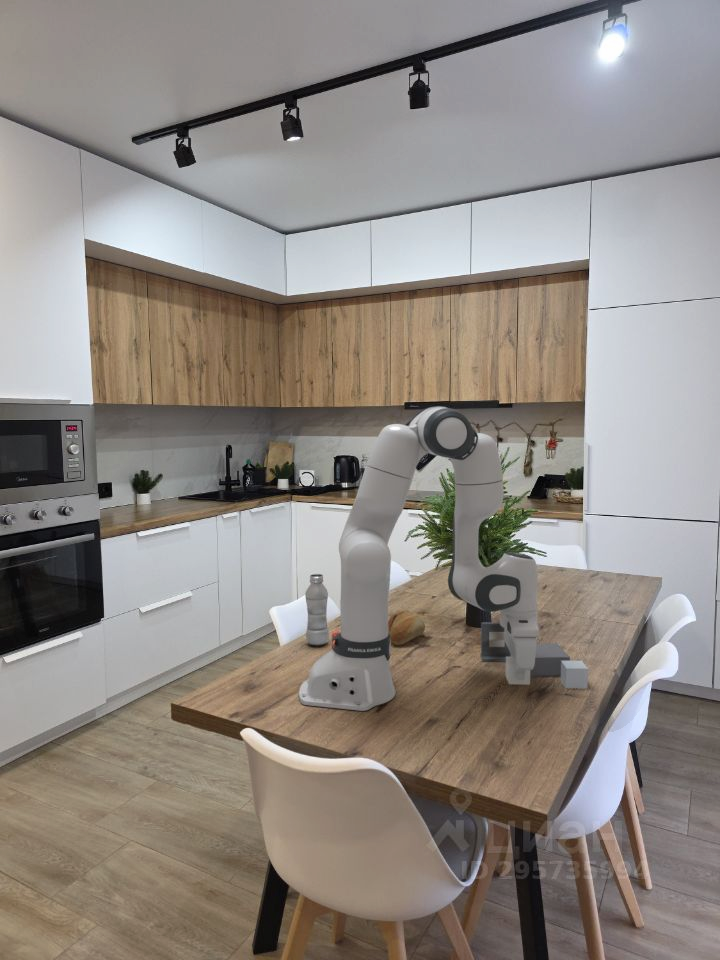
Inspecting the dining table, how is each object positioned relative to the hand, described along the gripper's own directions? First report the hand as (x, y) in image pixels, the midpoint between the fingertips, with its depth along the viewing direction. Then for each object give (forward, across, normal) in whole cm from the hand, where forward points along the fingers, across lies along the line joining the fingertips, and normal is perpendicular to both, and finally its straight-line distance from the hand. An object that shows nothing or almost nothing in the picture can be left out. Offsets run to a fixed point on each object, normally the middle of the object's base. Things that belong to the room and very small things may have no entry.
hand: (517, 673), depth 160 cm
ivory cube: (+2, 0, 0) cm, 2 cm away
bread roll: (+2, -29, -27) cm, 40 cm away
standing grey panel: (+2, -14, -3) cm, 14 cm away
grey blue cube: (+2, +2, +13) cm, 13 cm away
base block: (+2, -8, +8) cm, 11 cm away
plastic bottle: (+2, -24, -52) cm, 57 cm away
